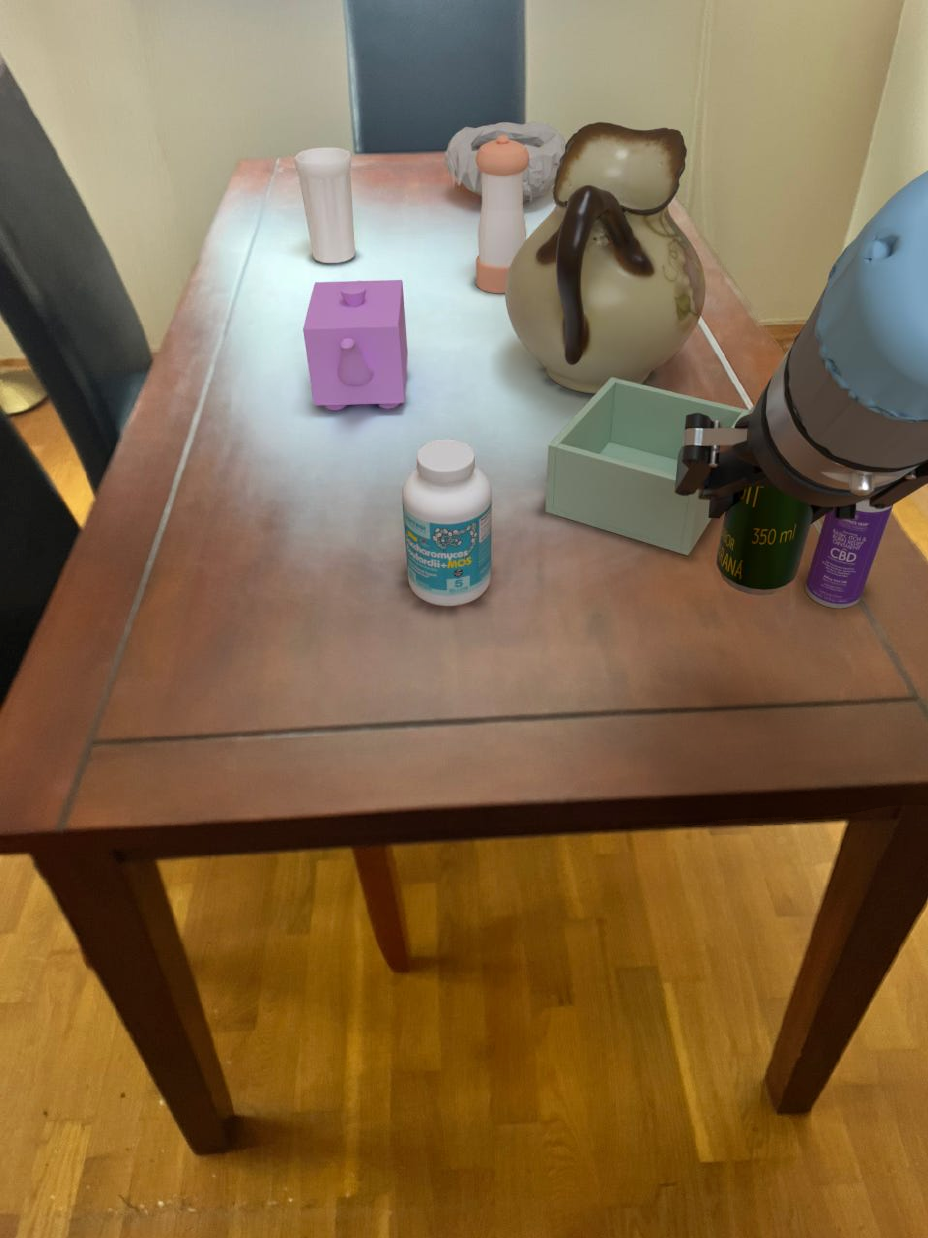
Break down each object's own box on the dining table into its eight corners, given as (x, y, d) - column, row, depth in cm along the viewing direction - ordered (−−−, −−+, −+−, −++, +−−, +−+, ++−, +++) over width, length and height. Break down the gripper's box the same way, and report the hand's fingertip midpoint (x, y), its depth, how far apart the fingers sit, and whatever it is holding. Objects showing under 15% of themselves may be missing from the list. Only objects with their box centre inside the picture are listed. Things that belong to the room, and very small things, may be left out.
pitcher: (639, 318, 122) (662, 106, 105) (733, 402, 105) (779, 168, 88) (479, 346, 117) (476, 129, 100) (551, 440, 100) (562, 199, 83)
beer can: (771, 543, 66) (808, 390, 58) (810, 589, 62) (855, 433, 54) (701, 556, 65) (728, 403, 57) (736, 604, 61) (771, 448, 53)
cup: (340, 271, 135) (328, 167, 126) (296, 262, 139) (281, 159, 129) (371, 252, 141) (362, 151, 131) (328, 243, 144) (316, 143, 134)
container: (811, 608, 79) (857, 459, 69) (799, 573, 83) (841, 426, 73) (867, 609, 79) (921, 459, 69) (852, 573, 83) (902, 426, 72)
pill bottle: (396, 600, 81) (383, 470, 72) (425, 550, 86) (417, 423, 77) (476, 618, 79) (474, 486, 70) (502, 565, 85) (503, 437, 75)
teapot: (328, 358, 115) (314, 257, 107) (409, 355, 115) (402, 255, 107) (310, 444, 101) (293, 335, 92) (403, 441, 101) (395, 332, 92)
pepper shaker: (524, 295, 128) (527, 144, 115) (472, 292, 129) (469, 143, 116) (530, 274, 133) (534, 128, 120) (480, 271, 134) (479, 126, 121)
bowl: (593, 201, 155) (598, 136, 148) (491, 227, 147) (490, 160, 140) (522, 170, 168) (524, 108, 161) (425, 192, 160) (422, 129, 153)
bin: (737, 476, 94) (751, 410, 89) (688, 556, 85) (700, 487, 80) (605, 441, 100) (611, 376, 95) (545, 511, 91) (548, 444, 85)
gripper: (634, 479, 42) (621, 545, 65) (1067, 509, 40) (895, 567, 63) (649, 318, 43) (631, 440, 66) (1079, 337, 40) (904, 457, 63)
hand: (760, 502), depth 64 cm, fingers closed on beer can, 5 cm apart
